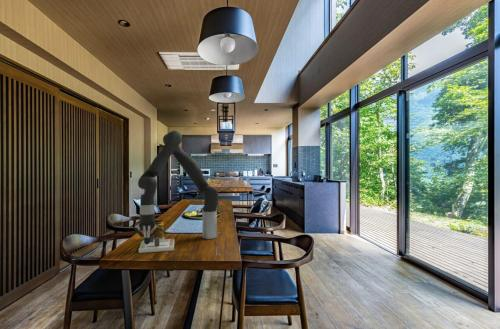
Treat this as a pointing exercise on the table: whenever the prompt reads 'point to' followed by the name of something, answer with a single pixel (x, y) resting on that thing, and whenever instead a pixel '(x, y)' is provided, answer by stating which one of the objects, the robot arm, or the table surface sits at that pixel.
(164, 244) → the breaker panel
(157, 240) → the block
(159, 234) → the condiment
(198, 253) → the table surface
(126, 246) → the table surface
